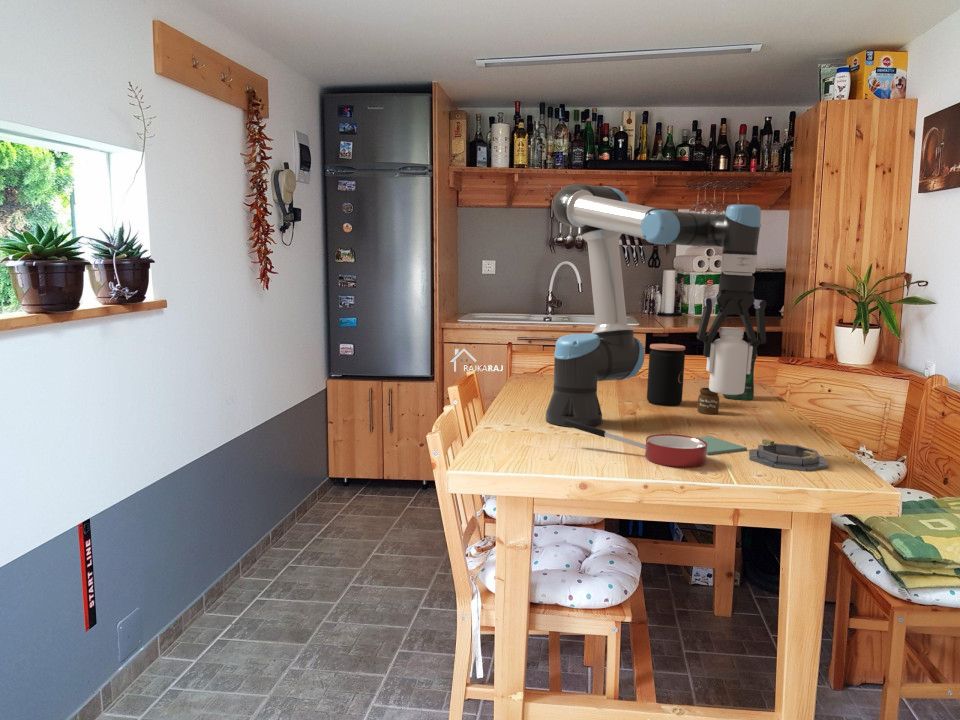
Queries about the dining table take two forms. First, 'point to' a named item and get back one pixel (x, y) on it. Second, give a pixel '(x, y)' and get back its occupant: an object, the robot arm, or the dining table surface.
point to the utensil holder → (708, 401)
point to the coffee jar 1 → (665, 374)
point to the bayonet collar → (770, 458)
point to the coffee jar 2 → (746, 385)
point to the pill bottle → (729, 362)
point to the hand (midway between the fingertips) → (727, 372)
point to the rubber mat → (720, 445)
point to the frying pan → (660, 447)
